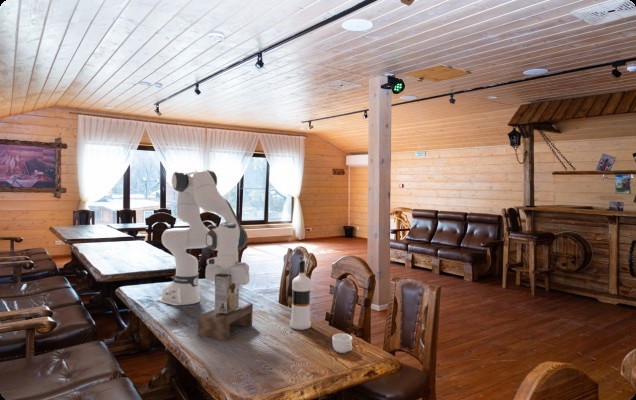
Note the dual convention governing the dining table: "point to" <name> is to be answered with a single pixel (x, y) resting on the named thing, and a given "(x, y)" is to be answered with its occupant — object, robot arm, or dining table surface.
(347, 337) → the teacup
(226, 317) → the walnut shelf
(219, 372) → the dining table surface
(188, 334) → the dining table surface
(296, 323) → the vodka
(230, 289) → the coffee box
